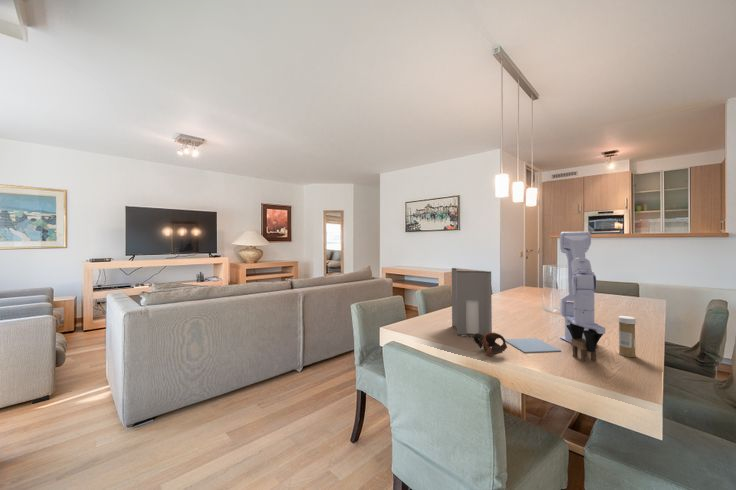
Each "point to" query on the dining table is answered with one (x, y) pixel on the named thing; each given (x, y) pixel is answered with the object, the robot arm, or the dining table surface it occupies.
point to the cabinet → (471, 302)
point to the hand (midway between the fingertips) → (584, 348)
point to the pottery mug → (490, 343)
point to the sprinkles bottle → (627, 336)
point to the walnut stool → (582, 349)
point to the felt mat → (531, 345)
